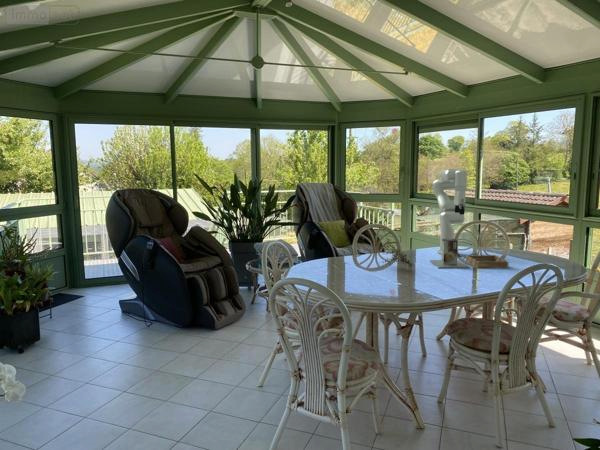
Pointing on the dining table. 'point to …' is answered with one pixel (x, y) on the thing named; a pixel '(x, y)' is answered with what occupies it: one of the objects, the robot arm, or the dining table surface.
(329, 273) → the dining table surface
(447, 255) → the coffee box
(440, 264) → the slate tile
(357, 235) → the dried plant
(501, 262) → the wooden frame
